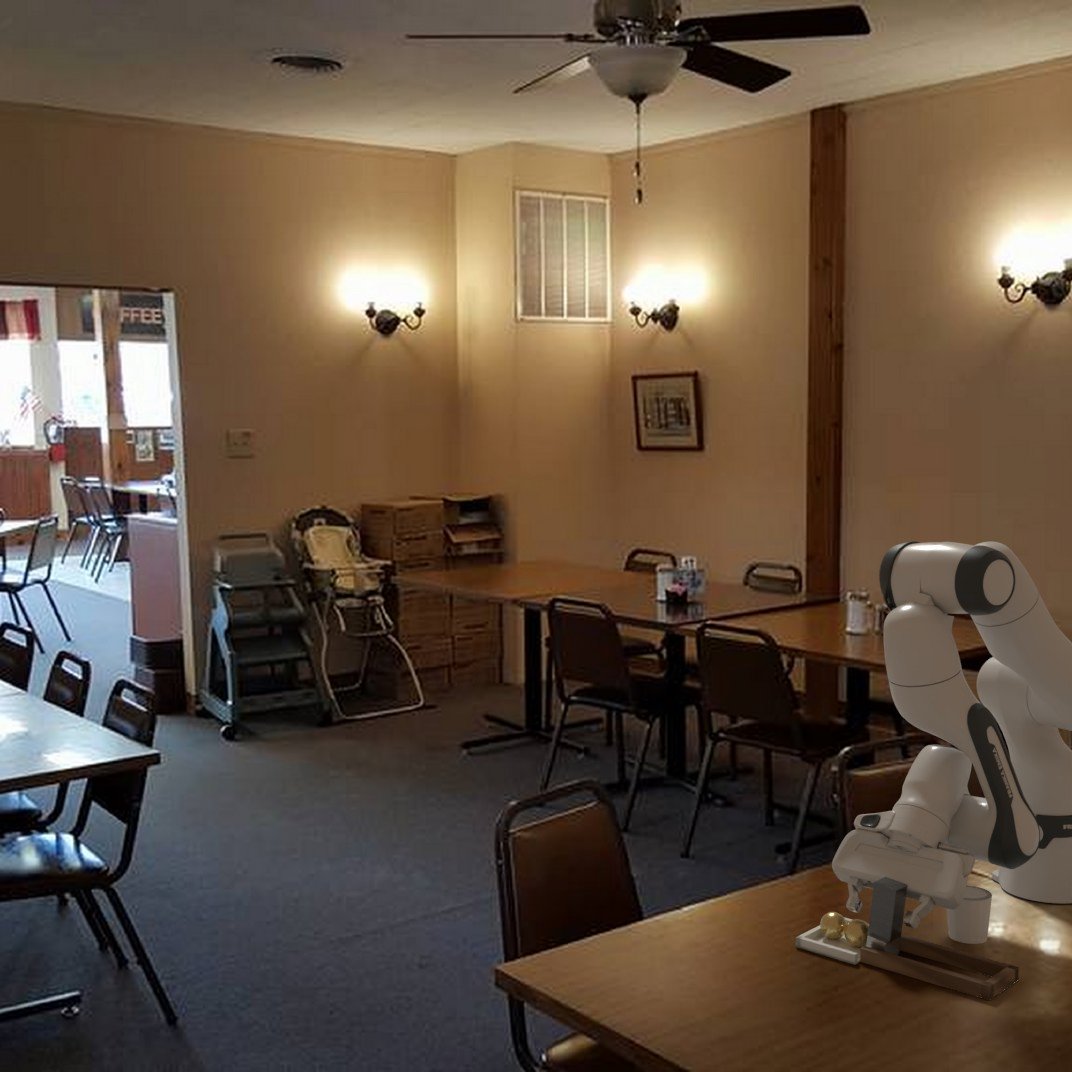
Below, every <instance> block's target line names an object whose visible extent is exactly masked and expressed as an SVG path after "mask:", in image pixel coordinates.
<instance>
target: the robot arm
mask: <svg viewBox="0 0 1072 1072" xmlns="http://www.w3.org/2000/svg"><path fill="white" fill-rule="evenodd" d="M878 578H879V579H878V581H879V586H880V587H879V588H880V590H881V594H882V597H883V601H884V604H885V605H886V608H887V609H888V610H889V612H888V614H887V615H886V617H885V618H884V622H883V652H884V655H883V656H884V662H885V669H886V674H887V679H888V685H889V689H890V690H889V691H890V694H891V698H892V701H893V703H894V706H895V708H896V710H897V711H898V713H899V714H900V716H901V717H902V718H903V719H905V721H906V722H907V723H909V724H910V725H912V726H913V727H915V728H917V729H918V730H920V731H923V732H926V733H928V734H930V735H932V736H936V738H939V739H942V740H943V741H946V742H947V743H949V744H950V745H945V744H944V745H943V744H936V743H935V744H928V745H926V746H925V747H923V748H922V749H921V751H920V752H919V753H918V754H917V756H916V757H915V759H914V761H913V763H912V765H911V767H910V768H909V770H908V773H907V775H906V777H905V780H904V782H903V785H902V790H901V795H900V798H899V799H898V800H897V801H896V803H895V804H894V806H893V807H892V810H888V811H882V812H881V811H880V812H875V813H866V814H864V813H863V814H858V815H857V816H856V817H855V819H854V822H853V826H854V828H855V829H853V830H851V831H850V832H848V833H847V834H846V835H845V837H844V838H843V840H842V841H841V843H840V845H839V847H838V849H837V851H836V852H835V854H834V857H833V859H832V862H831V867H832V870H833V873H834V874H835V876H836V878H837V879H838V880H840V881H841V882H844V883H847V888H848V893H849V894H848V895H849V897H848V899H847V901H846V903H845V904H846V906H845V907H846V909H848V911H849V912H853V913H857V914H858V913H860V911H861V909H862V906H863V902H862V901H861V899H860V898H859V896H858V893H861V892H862V890H863V888H866V889H869V890H870V889H871V890H873V888H874V882H875V881H877V880H879V879H882V878H884V877H888V878H890V879H893V880H896V881H898V882H901V883H903V884H906V885H907V893H906V899H908V900H909V899H911V900H913V901H917V902H919V905H918V906H917V907H916V908H914V909H913V910H912V911H911V910H907V911H906V914H905V916H904V917H903V923H904V924H905V926H906V927H909V928H912V929H918V926H919V924H920V922H921V920H922V919H924V918H926V916H928V915H929V914H931V912H933V909H934V907H935V906H937V907H941V908H945V909H946V908H948V909H955V908H957V907H958V906H960V905H961V903H962V900H963V897H964V894H965V890H966V885H967V884H968V880H969V879H968V878H969V876H970V874H971V873H972V872H973V868H974V866H975V863H976V861H980V862H985V863H989V864H991V865H994V866H998V869H995V870H993V871H991V876H990V877H991V879H992V880H993V881H995V882H997V883H999V885H1000V887H1001V888H1002V889H1003V891H1005V892H1007V893H1009V894H1010V895H1013V896H1016V897H1018V898H1022V899H1025V900H1029V901H1033V902H1034V901H1035V902H1041V903H1048V904H1050V903H1051V904H1072V749H1071V748H1070V747H1069V746H1068V745H1067V743H1065V741H1064V740H1063V738H1062V736H1061V733H1060V731H1059V729H1061V730H1066V731H1069V732H1070V731H1072V641H1071V640H1070V639H1069V638H1068V637H1067V636H1066V635H1065V634H1064V633H1063V631H1062V630H1061V629H1060V628H1059V627H1058V626H1057V625H1058V624H1056V622H1055V620H1054V618H1053V617H1052V615H1051V614H1050V611H1049V610H1048V608H1047V606H1046V603H1045V602H1044V600H1043V598H1042V596H1041V594H1040V591H1039V590H1038V587H1037V586H1036V584H1035V582H1034V581H1033V579H1032V576H1031V575H1030V574H1029V572H1028V570H1027V569H1026V567H1025V566H1024V564H1023V563H1022V562H1021V560H1020V559H1019V557H1017V555H1016V554H1015V553H1014V552H1013V550H1012V549H1011V548H1009V546H1007V545H1006V544H1004V543H1001V542H998V541H983V542H979V543H976V544H968V543H963V542H955V541H942V542H941V541H936V542H935V541H934V542H933V541H928V542H919V541H907V542H901V543H898V544H895V545H893V546H892V547H890V548H889V549H888V550H887V551H886V553H885V554H884V556H883V558H882V560H881V563H880V566H879V571H878ZM949 614H957V615H967V614H968V615H969V616H970V617H971V619H972V622H973V623H974V625H975V627H976V629H977V631H978V633H979V635H980V637H981V640H982V641H983V643H984V645H985V646H986V648H987V650H988V652H989V654H990V655H991V656H992V657H989V659H988V660H986V661H985V662H984V663H983V664H982V666H981V667H980V669H979V672H978V674H977V677H976V691H977V692H976V693H977V696H978V698H979V700H978V698H977V697H976V695H975V694H974V692H973V691H972V689H971V688H970V686H969V684H968V682H967V679H966V678H965V675H964V673H963V669H962V668H963V667H962V663H961V659H960V655H959V651H958V647H957V644H956V641H955V638H954V634H953V624H954V619H955V615H954V616H953V615H949ZM1001 732H1002V733H1001ZM1002 734H1003V735H1002ZM1003 737H1004V739H1005V741H1004V739H1003ZM1005 742H1006V743H1005ZM951 745H952V746H951ZM1006 745H1007V747H1006ZM953 746H954V747H953ZM1007 748H1008V749H1007ZM972 765H973V768H974V770H975V773H976V776H977V779H978V781H979V784H980V787H981V789H982V792H983V796H984V797H981V796H974V795H971V794H970V792H969V788H968V783H969V781H970V776H971V771H972ZM967 886H968V885H967Z"/></svg>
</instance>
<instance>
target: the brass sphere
mask: <svg viewBox="0 0 1072 1072" xmlns="http://www.w3.org/2000/svg"><path fill="white" fill-rule="evenodd" d="M868 924H869V923H868V922H866V921H865V920H862V919H859V918H857V919H856V918H855V919H854V918H853V919H852V920H851V921H850V922H848V923H847V925H846V926H845V929H844V935H845V938H846V940H847V941H848V943H849V944H851V945H852V946H855V947H863V946H865V945H866V944H867V936H868V935H869V933H868V930H869V925H868Z"/></svg>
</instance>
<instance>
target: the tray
mask: <svg viewBox="0 0 1072 1072" xmlns="http://www.w3.org/2000/svg"><path fill="white" fill-rule="evenodd" d="M843 917H844V916H843ZM844 918H845V920H846V922H847V923H848V922H850V921H851V920H853V919H852V918H849V917H844ZM867 924H868V925H869V923H867ZM865 946H866V945H865ZM863 947H864V946H863ZM795 948H798V949H801V950H805V951H808V952H811V953H815V954H818V955H821V956H825V957H828V958H831V959H834V960H838V961H840V962H844V963H847V964H851V965H854V966H855V965H857V964H859V963H861V962H860V948H862V947H855V946H852V945H851V944H849V943H848V941H847V940H846V938H845V935H844V936H843V937H841V938H839V939H830V938H828V937H826V936H825V935H824V934H823V933H822V931H821V928H820V924H819V925H817V926H816V927H814V928H811V929H809V930H808V931H806V932H804V933H801V934H800V935H798V936H795Z"/></svg>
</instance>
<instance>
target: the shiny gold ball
mask: <svg viewBox="0 0 1072 1072" xmlns="http://www.w3.org/2000/svg"><path fill="white" fill-rule="evenodd" d="M845 918H846V917H845ZM845 918H844V916H843V914H841V913H838V912H836V911H829V912H826V913H825V914H823V916H822V917H821V919H820V922H819V925H820V928H821V931H822V933H823V934H824V935H825V936H826V937H828V938H830V939H839V938H841V937H843V936H844V929H845V926H846V925H847V922H846V920H845Z"/></svg>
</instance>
